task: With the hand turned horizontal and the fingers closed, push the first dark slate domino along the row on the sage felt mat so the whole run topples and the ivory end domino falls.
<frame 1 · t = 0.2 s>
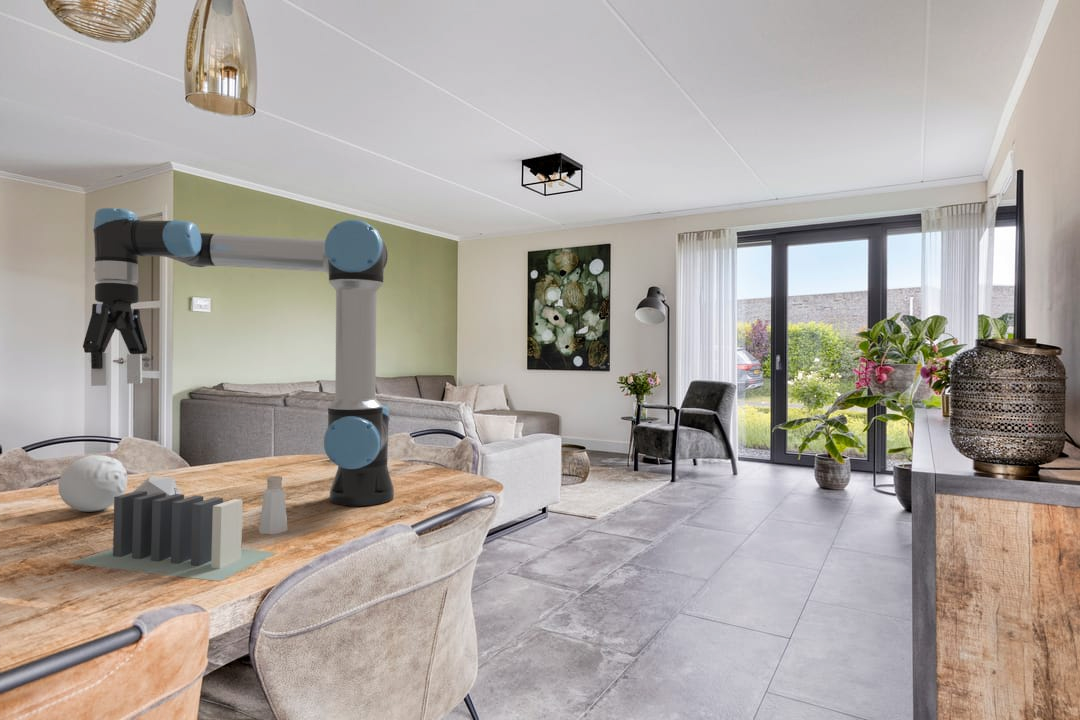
hand: (118, 384, 128), 28 cm above the table, tool pointing down, fingers open, 13 cm apart
domino 3: (167, 556, 103), point 1 cm above the table, touching felt mat
domino 1: (129, 552, 104), point 1 cm above the table, touching felt mat
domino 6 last: (226, 563, 101), point 1 cm above the table, touching felt mat
salt shaker: (273, 533, 120), on the table
decorative ball: (93, 511, 132), on the table
felt mat: (177, 561, 103), on the table
domino 2: (148, 554, 104), point 1 cm above the table, touching felt mat
die: (156, 515, 131), on the table
domino 4: (186, 558, 102), point 1 cm above the table, touching felt mat
domino 5: (206, 560, 101), point 1 cm above the table, touching felt mat
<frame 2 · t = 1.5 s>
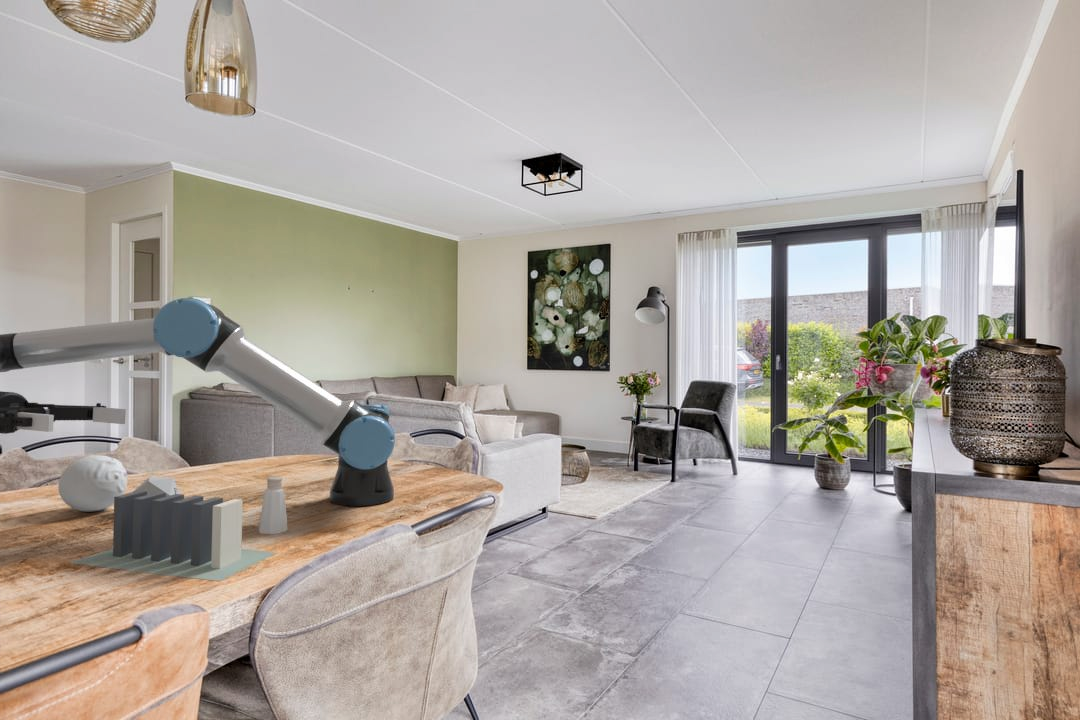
hand: (89, 419, 107), 23 cm above the table, tool horizontal, fingers open, 13 cm apart
nothing on the table moved.
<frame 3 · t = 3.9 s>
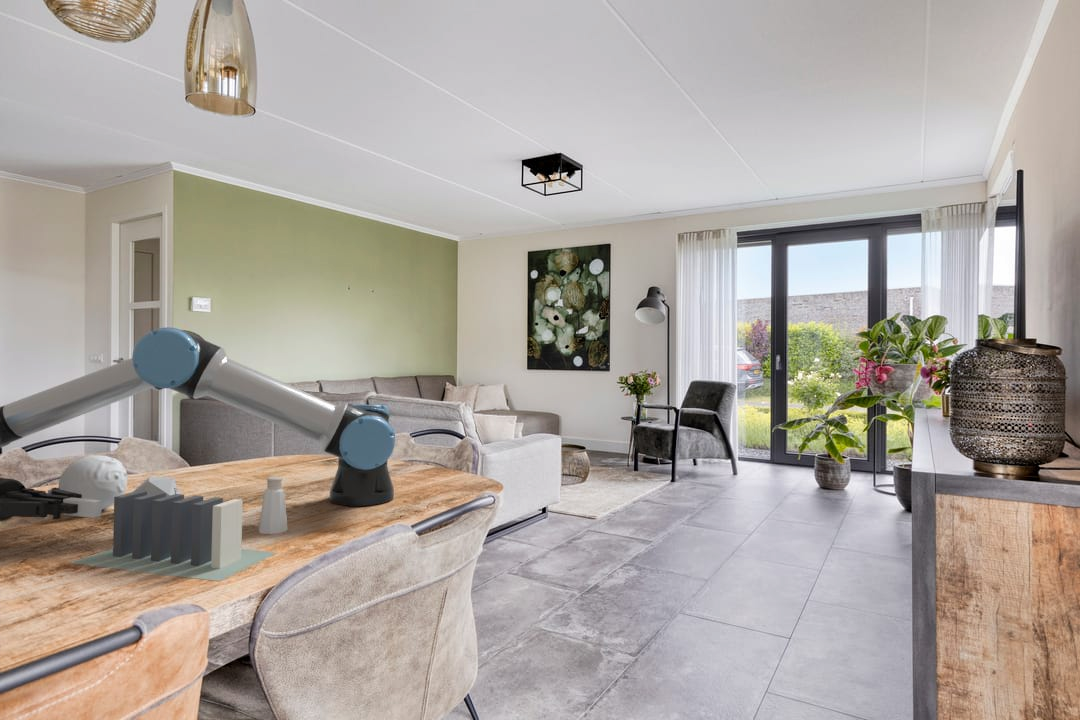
hand: (97, 509, 106), 7 cm above the table, tool horizontal, fingers closed
nothing on the table moved.
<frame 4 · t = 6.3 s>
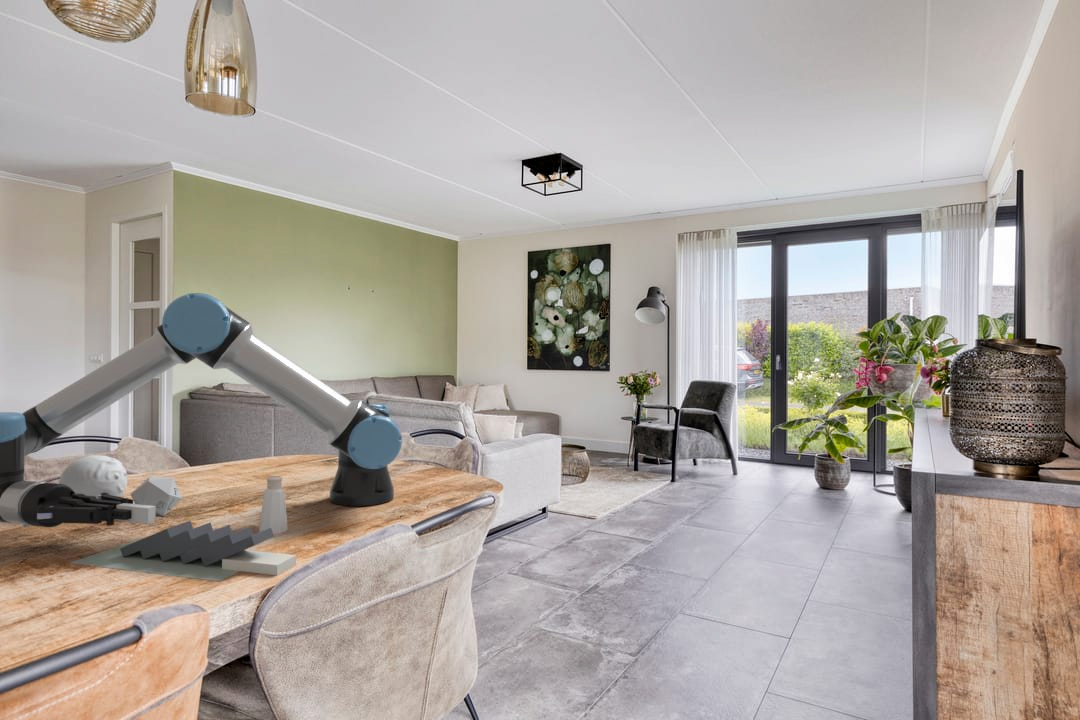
hand: (151, 514, 103), 7 cm above the table, tool horizontal, fingers closed
domino 3: (172, 552, 103), point 1 cm above the table, tilted 66°, touching domino 2, domino 4, felt mat
domino 1: (134, 548, 104), point 1 cm above the table, tilted 66°, touching domino 2, felt mat
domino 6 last: (232, 558, 100), point 1 cm above the table, tilted 90°, touching domino 5, felt mat
domino 2: (154, 550, 103), point 1 cm above the table, tilted 66°, touching domino 1, domino 3
domino 4: (193, 555, 102), point 1 cm above the table, tilted 65°, touching domino 3, domino 5, felt mat
domino 5: (213, 556, 101), point 1 cm above the table, tilted 65°, touching domino 4, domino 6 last
everything else where it was.
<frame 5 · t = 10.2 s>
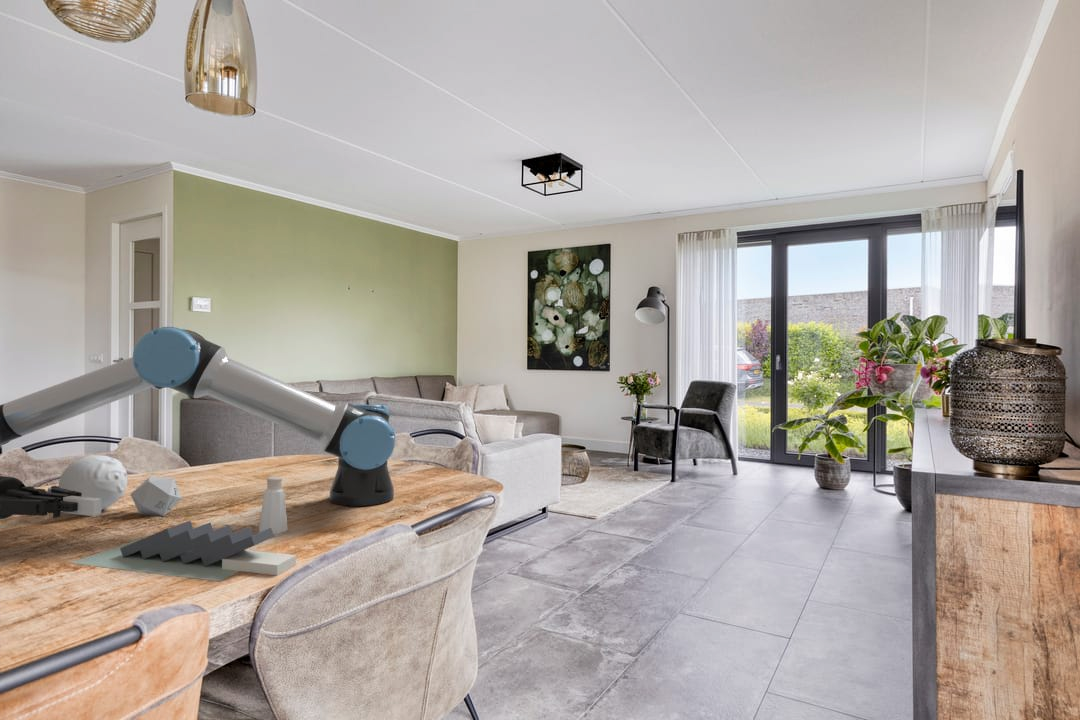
hand: (97, 507, 106), 8 cm above the table, tool horizontal, fingers closed
nothing on the table moved.
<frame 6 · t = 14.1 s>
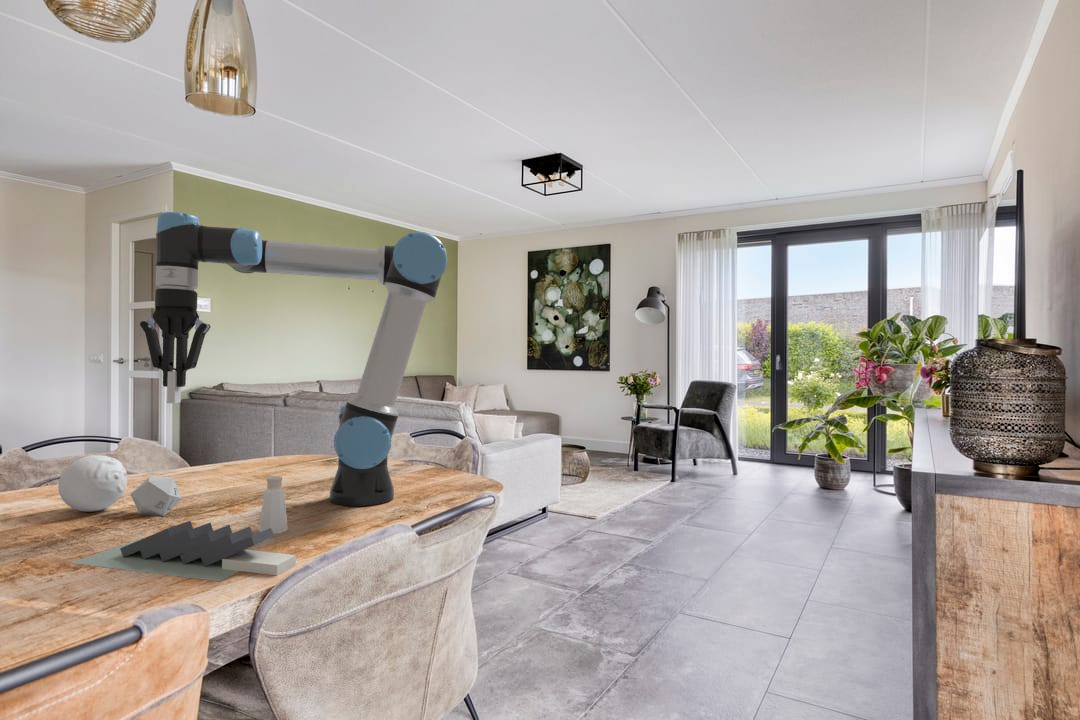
hand: (173, 402, 126), 24 cm above the table, tool pointing down, fingers closed
nothing on the table moved.
at the end: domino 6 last tilted 90°; domino 1 tilted 66° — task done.
